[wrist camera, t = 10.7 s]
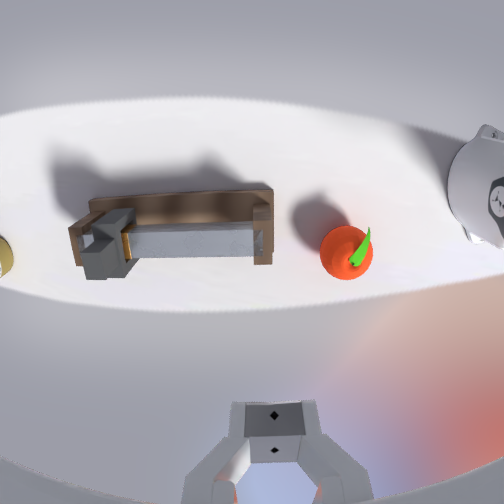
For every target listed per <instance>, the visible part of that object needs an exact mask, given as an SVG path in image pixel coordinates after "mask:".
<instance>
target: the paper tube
mask: <svg viewBox="0 0 504 504" xmlns="http://www.w3.org/2000/svg"><path fill="white" fill-rule="evenodd" d="M12 266H13V254H12V251H11V249H10V247H9V245H8V244H7V242H6V241H5V240H3V239H2V238H0V278H1V277H2V276H3V275H5V274H6V273H7V272H8V271H10V270H11V268H12Z"/></svg>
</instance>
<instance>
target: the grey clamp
mask: <svg viewBox="0 0 504 504" xmlns="http://www.w3.org/2000/svg"><path fill="white" fill-rule="evenodd" d="M135 224H136V225H137V221H136V214H135V208H124V209H113V210H112V211H110V212H109V213H107V214H106V215H104V216H103V217H102V218H100V219H99V220H97V221H96V222H95V223H93V224H92V225H91V228H92V233H93V239H94V242H92V243H91V244H90V245H89V246H88V247H87V248H85V249H84V250H83V251H82V252H81V253H80V254H81V258H82V263H83V267H84V271H85V276H86V280H106V279H107V278H125V277H126V275H127V274H128V273H129V271H130V270H131V269H132V267H133V266H134V265H135V263H136V262H137V261H138V260H139V258H131V259H125V255H124V250H123V244H122V238H121V230H122V229H123V228H124V227H125V226H126V225H135Z"/></svg>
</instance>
